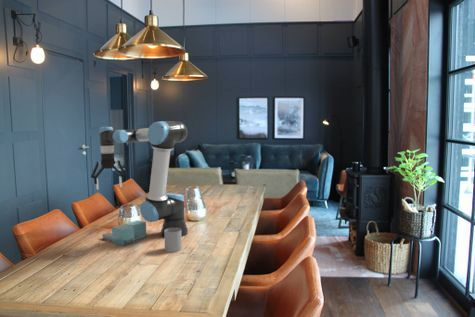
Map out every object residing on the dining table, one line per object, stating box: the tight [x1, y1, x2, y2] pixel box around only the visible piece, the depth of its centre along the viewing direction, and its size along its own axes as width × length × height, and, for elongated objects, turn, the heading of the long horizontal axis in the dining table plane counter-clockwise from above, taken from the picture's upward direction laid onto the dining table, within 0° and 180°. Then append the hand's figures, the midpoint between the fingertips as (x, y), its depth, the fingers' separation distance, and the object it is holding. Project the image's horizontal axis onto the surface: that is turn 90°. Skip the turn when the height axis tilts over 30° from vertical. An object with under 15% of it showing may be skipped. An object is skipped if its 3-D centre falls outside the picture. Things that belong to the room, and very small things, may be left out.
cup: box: [163, 228, 183, 253], centre depth 200 cm, size 8×8×10 cm
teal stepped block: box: [102, 224, 135, 247], centre depth 215 cm, size 20×7×8 cm, turn 53°
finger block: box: [124, 219, 147, 241], centre depth 222 cm, size 10×7×8 cm
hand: (109, 188), depth 239 cm, fingers open, 13 cm apart
